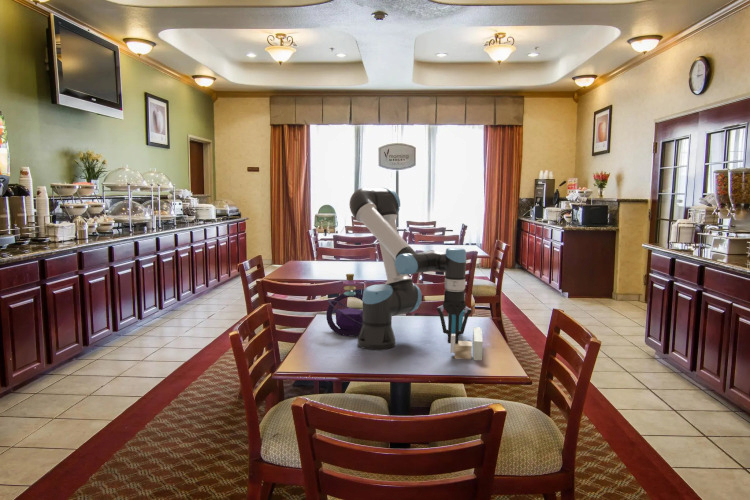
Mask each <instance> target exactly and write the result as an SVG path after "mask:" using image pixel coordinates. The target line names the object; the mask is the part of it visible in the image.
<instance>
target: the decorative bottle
mask: <svg viewBox="0 0 750 500" xmlns="http://www.w3.org/2000/svg"><path fill="white" fill-rule="evenodd" d="M345 277H346V280H345V281H344V282H343V284H344V285H347V286H344V287H343V289H344V290H345V292H344V293H341V294H339V295H337V296H336V297H335V298H334V299H331V298H330V299H327V302H328V304H329V305H328V307H327V311H326V322H327V324H328V326H329V328H330V330H332V331H333V332H334V333H335V334H338V336H339V335H340V336H343V337H354V336H359V333H360V330H361V327H362V317H363V308H362V309H359V308H360V307H359V308H358V307H357V308H352V307H349V306H347V305H345V304H343V303H342V302H340V301H341V300H343V299H346V298H356V299H358V300H360V301H362V298H363V293H362V294H361V293H359V292H355V290H356V286H355V285H356V283H357V282H356V281H355V280H354V277H355V273H346V274H345ZM337 304H338V305H341V306H343V307H344V308H339V309H338V308H337V307H335V306H336V305H337ZM334 309H335V310H334ZM333 310H334V311H335V321H334V319H333Z"/></svg>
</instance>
